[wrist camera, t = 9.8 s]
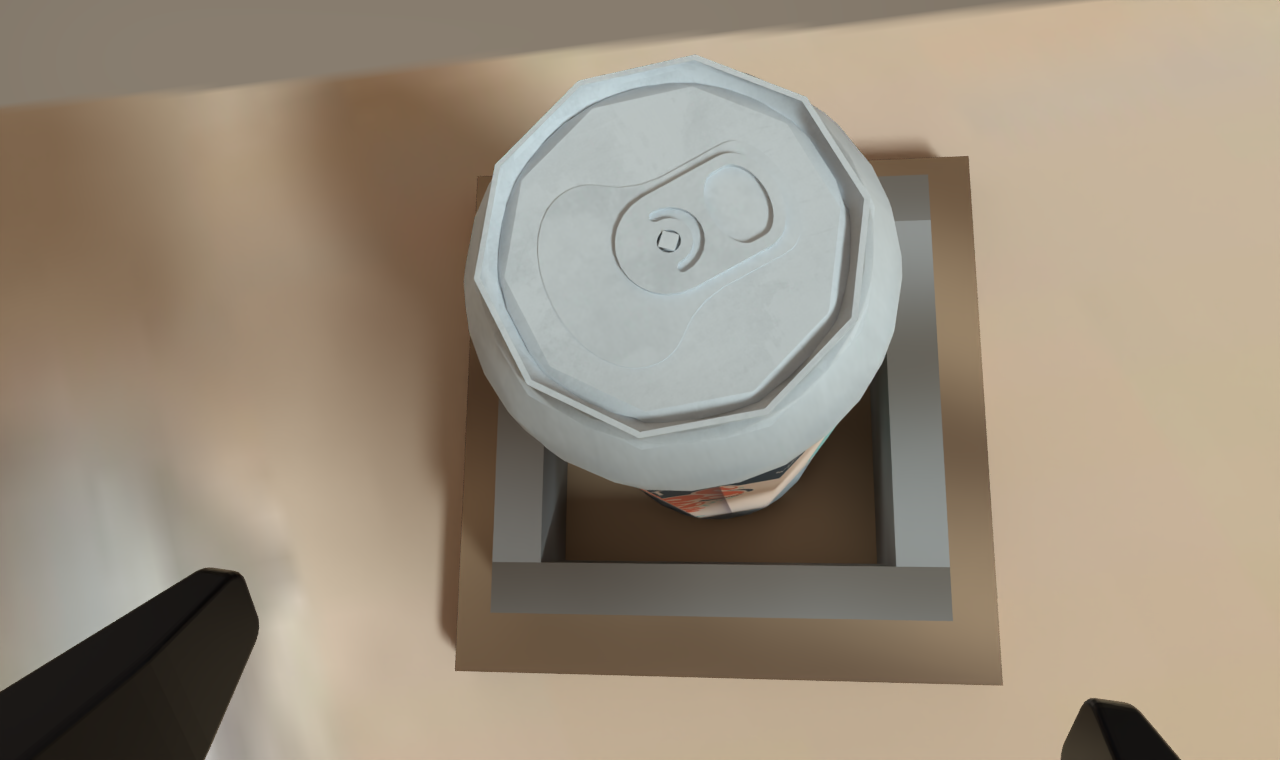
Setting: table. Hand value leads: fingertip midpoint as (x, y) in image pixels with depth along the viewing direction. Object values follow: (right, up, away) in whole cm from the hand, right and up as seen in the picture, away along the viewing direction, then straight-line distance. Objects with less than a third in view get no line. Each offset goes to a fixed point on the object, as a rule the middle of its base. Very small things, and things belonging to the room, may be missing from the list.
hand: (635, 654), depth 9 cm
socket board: (+2, +2, +12) cm, 12 cm away
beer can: (+2, +2, +11) cm, 11 cm away
